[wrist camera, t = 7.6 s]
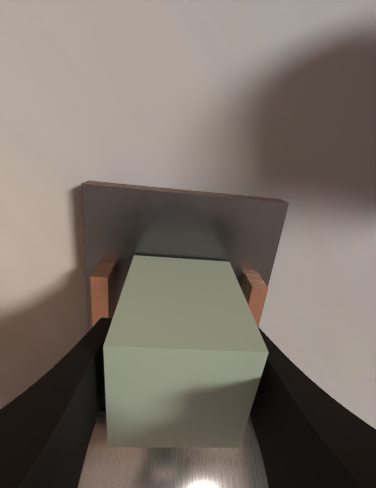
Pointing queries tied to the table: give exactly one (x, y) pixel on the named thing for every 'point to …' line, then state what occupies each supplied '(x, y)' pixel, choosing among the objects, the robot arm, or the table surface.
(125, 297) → the sage green cube
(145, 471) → the motor mount
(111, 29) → the table surface
